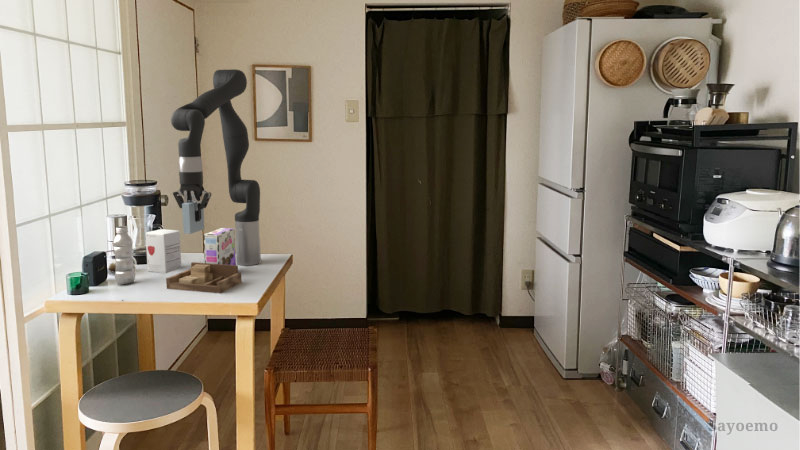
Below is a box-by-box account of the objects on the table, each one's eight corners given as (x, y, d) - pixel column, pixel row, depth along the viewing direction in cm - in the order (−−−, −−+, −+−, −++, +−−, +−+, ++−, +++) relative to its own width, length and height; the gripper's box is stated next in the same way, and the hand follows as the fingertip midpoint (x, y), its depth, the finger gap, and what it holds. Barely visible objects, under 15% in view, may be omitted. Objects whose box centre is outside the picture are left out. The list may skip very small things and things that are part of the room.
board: (198, 228, 224) (196, 200, 222) (204, 229, 223) (203, 200, 221) (183, 233, 215) (181, 203, 213) (190, 233, 215) (188, 204, 213)
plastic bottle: (140, 282, 228) (136, 226, 224) (126, 286, 221) (122, 229, 218) (125, 280, 230) (121, 225, 226) (111, 285, 223) (106, 228, 220)
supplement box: (146, 271, 243) (144, 232, 240) (163, 266, 251) (161, 228, 248) (165, 273, 239) (163, 234, 237) (182, 268, 248) (180, 230, 245)
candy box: (219, 279, 232) (217, 234, 229) (204, 278, 233) (202, 233, 230) (236, 270, 245) (235, 227, 242) (222, 269, 246) (220, 227, 243)
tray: (190, 281, 229) (189, 261, 228) (241, 285, 224) (240, 265, 223) (166, 291, 216) (165, 271, 214) (220, 296, 210) (219, 275, 209)
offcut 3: (197, 280, 226) (197, 272, 225) (212, 281, 224) (212, 273, 224) (189, 284, 221) (188, 275, 221) (204, 285, 219) (204, 276, 219)
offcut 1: (187, 284, 220) (186, 276, 220) (199, 286, 219) (198, 277, 218) (179, 287, 217) (178, 279, 216) (191, 289, 215) (191, 280, 214)
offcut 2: (196, 272, 225) (196, 264, 224) (210, 273, 224) (209, 264, 224) (190, 275, 220) (190, 267, 220) (204, 276, 220) (204, 267, 219)
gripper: (215, 169, 218) (217, 220, 221) (178, 168, 221) (181, 218, 224) (203, 171, 210) (206, 223, 214) (165, 170, 214) (168, 222, 217)
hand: (193, 220), depth 219 cm, fingers closed on board, 2 cm apart
